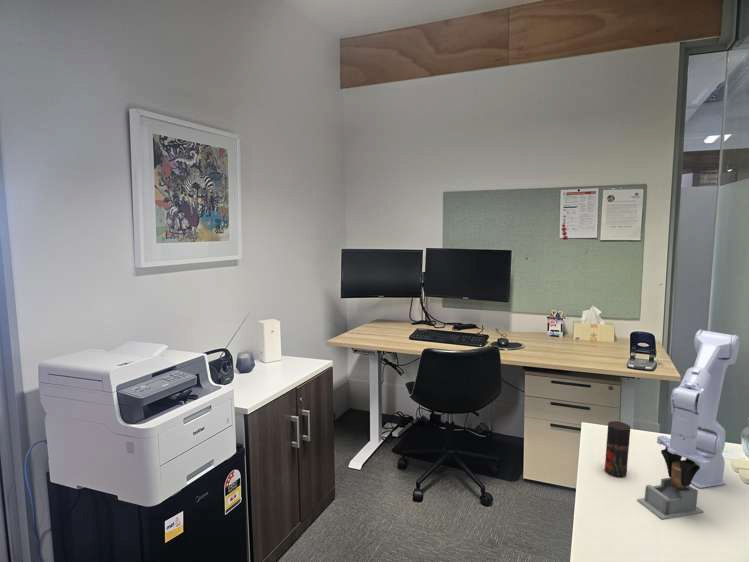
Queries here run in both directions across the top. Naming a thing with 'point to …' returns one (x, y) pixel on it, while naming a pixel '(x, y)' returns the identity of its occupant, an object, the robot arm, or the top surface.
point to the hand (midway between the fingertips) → (679, 480)
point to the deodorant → (617, 449)
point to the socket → (670, 500)
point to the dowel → (676, 476)
